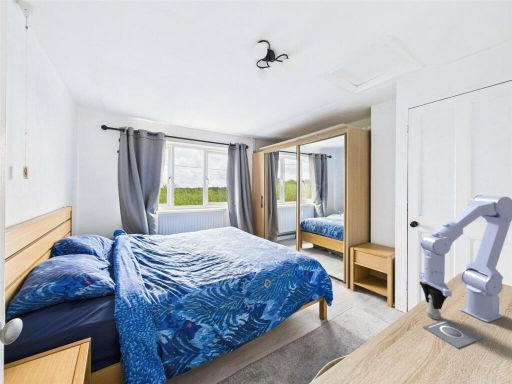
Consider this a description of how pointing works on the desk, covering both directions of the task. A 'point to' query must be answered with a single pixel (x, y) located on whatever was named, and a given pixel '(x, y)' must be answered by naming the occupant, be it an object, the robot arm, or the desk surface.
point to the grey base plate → (452, 333)
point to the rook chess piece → (432, 310)
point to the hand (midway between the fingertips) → (433, 305)
